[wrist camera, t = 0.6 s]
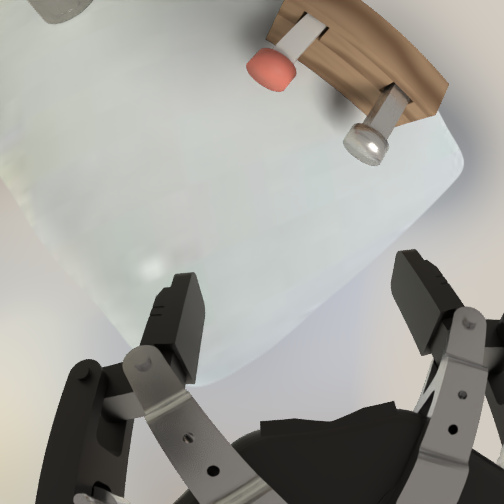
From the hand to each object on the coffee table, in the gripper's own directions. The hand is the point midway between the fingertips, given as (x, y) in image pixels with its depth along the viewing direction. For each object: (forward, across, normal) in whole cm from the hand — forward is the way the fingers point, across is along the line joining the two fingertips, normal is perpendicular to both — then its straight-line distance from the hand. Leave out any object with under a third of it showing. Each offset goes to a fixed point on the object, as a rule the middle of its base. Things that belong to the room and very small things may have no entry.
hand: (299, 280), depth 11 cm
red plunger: (+25, -4, -11) cm, 27 cm away
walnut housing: (+32, -11, -8) cm, 35 cm away
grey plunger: (+24, -13, -3) cm, 27 cm away
